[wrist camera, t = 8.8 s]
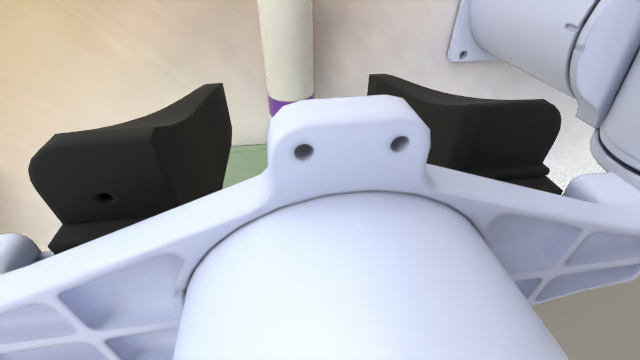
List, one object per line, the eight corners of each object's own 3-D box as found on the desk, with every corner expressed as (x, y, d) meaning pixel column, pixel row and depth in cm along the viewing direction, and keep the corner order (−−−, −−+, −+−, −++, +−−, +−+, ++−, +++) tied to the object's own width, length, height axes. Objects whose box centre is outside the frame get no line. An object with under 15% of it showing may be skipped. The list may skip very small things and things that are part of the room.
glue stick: (255, -24, 17) (253, -17, 15) (308, -25, 17) (315, -19, 15) (270, 103, 22) (270, 123, 20) (311, 101, 22) (316, 120, 20)
